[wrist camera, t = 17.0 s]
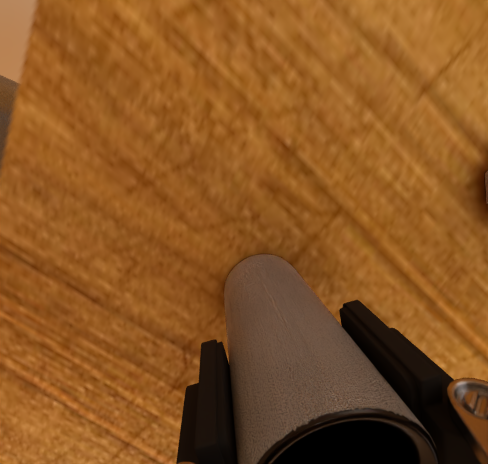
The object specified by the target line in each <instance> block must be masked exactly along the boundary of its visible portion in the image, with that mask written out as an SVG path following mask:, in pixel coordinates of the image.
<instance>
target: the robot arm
mask: <svg viewBox="0 0 488 464" xmlns="http://www.w3.org/2000/svg"><path fill="white" fill-rule="evenodd" d="M339 311H340V318H341V324H342V327H343V328H344V330H345V331H346V332H347V333H348V335H349V336H350V337H351V338H352V339H353V341H354V342H355V343H356V344H357V346H358V347H359V348H360V349H361V350H362V352H363V353H364V354H365V355H366V357H367V358H368V359H369V360H370V361H371V363H372V364H373V365H374V366H375V368H376V369H377V370H378V371H379V373H380V374H381V375H382V376H383V377H384V379H385V380H386V381H387V382H388V384H389V385H390V386H391V387H392V388H393V390H394V391H395V392H396V393H397V395H398V396H399V397H400V398H401V399H402V401H403V402H404V403H405V404H406V406H407V407H408V408H409V409H410V411H411V412H412V413H413V414H414V415H415V417H416V418H417V419H418V420H419V422H420V423H421V424H422V425H423V427H424V428H425V429H426V431H427V432H428V433H429V435H430V436H431V438H432V440H433V442H434V444H435V446H436V449H437V453H438V457H439V464H488V382H487V381H484V380H480V379H475V378H460V379H456V380H454V379H452V378H451V377H450V376H449V375H448V374H447V373H446V372H444V371H443V370H442V369H441V368H440V367H439V366H438V365H436V364H435V363H434V362H433V361H432V360H431V359H430V358H428V357H427V356H426V355H425V354H424V353H423V352H422V351H420V350H419V349H418V348H417V347H416V346H415V345H414V344H412V343H411V342H410V341H409V340H408V339H407V338H406V337H404V336H403V335H402V334H401V333H400V332H399V331H398V330H396V329H395V328H389V327H388V326H387V325H385V324H384V323H383V322H382V321H381V320H380V319H379V318H378V317H377V316H376V315H374V314H373V313H372V312H371V311H370V310H369V309H368V308H367V307H366V306H364V305H363V304H362V303H361V302H360V301H359V300H355V301H351V302H347V303H344V304H343V308H340V310H339ZM176 464H237V454H236V442H235V429H234V417H233V404H232V392H231V379H230V367H229V363H228V359H227V356H226V352H225V349H224V346H223V343H222V342H219V343H217V340H216V339H215V340H211V341H207V342H204V343H202V344H201V357H200V372H199V383H197V384H193V385H190V386H187V388H186V392H185V399H184V407H183V415H182V423H181V431H180V439H179V447H178V455H177V463H176Z"/></svg>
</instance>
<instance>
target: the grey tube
mask: <svg viewBox="0 0 488 464" xmlns="http://www.w3.org/2000/svg"><path fill="white" fill-rule="evenodd" d="M224 304H225V317H226V329H227V342H228V354H229V367H230V379H231V392H232V404H233V417H234V429H235V442H236V454H237V464H439V457H438V453H437V449H436V446H435V444H434V442H433V440H432V438H431V436H430V435H429V433H428V432H427V431H426V429H425V428H424V427H423V425H422V424H421V423H420V422H419V420H418V419H417V418H416V417H415V415H414V414H413V413H412V412H411V411H410V409H409V408H408V407H407V406H406V404H405V403H404V402H403V401H402V399H401V398H400V397H399V396H398V395H397V393H396V392H395V391H394V390H393V388H392V387H391V386H390V385H389V384H388V382H387V381H386V380H385V379H384V377H383V376H382V375H381V374H380V373H379V371H378V370H377V369H376V368H375V366H374V365H373V364H372V363H371V361H370V360H369V359H368V358H367V357H366V355H365V354H364V353H363V352H362V350H361V349H360V348H359V347H358V346H357V344H356V343H355V342H354V341H353V339H352V338H351V337H350V336H349V335H348V333H347V332H346V331H345V330H344V328H343V327H342V326H341V325H340V324H339V322H338V321H337V320H336V319H335V317H334V316H333V315H332V314H331V312H330V311H329V310H328V309H327V308H326V306H325V305H324V304H323V303H322V301H321V300H320V299H319V298H318V297H317V295H316V294H315V293H314V292H313V290H312V289H311V288H310V287H309V286H308V284H307V283H306V282H305V281H304V279H303V278H302V277H301V276H300V275H299V273H298V272H297V271H296V270H295V269H294V267H293V266H291V265H290V264H289V263H288V262H287V261H286V260H284V259H282V258H280V257H278V256H275V255H270V254H259V255H254V256H251V257H248V258H246V259H244V260H242V261H241V262H239V263H238V264H237V265H236V266H235V267H234V268H233V269H232V270H231V272H230V273H229V275H228V277H227V279H226V282H225V287H224Z"/></svg>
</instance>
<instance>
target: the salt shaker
mask: <svg viewBox="0 0 488 464" xmlns="http://www.w3.org/2000/svg"><path fill="white" fill-rule="evenodd" d="M485 185H486V201H487V204H488V171H487V172H486V173H485Z"/></svg>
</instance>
